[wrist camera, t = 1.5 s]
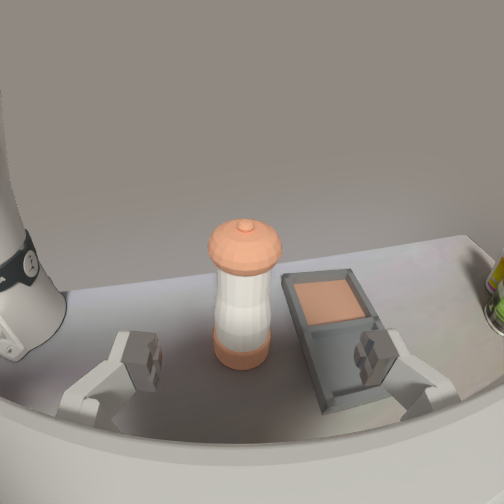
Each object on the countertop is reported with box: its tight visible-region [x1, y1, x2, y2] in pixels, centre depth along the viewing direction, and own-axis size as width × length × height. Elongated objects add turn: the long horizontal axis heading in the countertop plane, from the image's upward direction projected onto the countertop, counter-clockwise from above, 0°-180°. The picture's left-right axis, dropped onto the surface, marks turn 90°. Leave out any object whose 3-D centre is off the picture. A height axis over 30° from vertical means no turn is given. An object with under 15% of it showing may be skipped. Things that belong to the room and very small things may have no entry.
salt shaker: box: [208, 219, 282, 370], centre depth 32 cm, size 7×7×19 cm
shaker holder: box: [282, 269, 392, 415], centre depth 39 cm, size 12×23×2 cm, turn 8°
